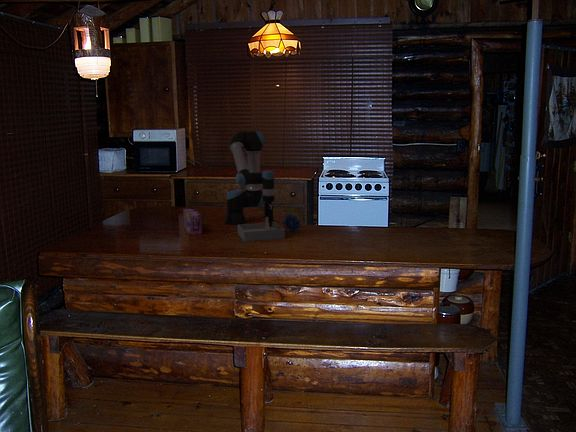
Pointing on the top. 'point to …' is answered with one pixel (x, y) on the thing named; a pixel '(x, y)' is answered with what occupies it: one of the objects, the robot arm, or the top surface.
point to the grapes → (291, 223)
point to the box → (260, 232)
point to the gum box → (192, 221)
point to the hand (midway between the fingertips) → (269, 230)
